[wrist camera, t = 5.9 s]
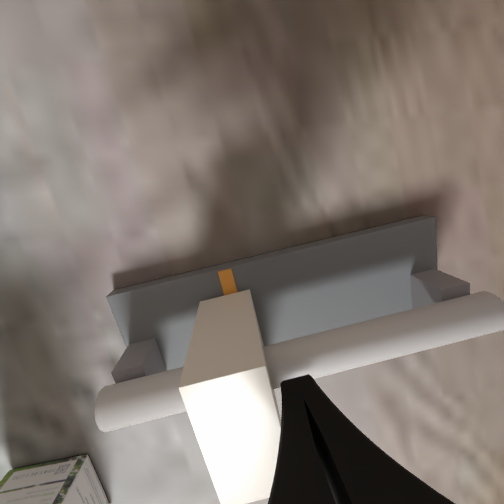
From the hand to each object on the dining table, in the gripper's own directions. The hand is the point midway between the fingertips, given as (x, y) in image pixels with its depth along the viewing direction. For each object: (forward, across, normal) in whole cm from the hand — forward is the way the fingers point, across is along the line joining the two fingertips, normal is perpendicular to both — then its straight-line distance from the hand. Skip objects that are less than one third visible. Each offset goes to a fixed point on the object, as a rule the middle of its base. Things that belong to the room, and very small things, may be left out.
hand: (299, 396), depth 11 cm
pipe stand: (+7, -1, 0) cm, 7 cm away
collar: (+5, +2, 0) cm, 6 cm away
